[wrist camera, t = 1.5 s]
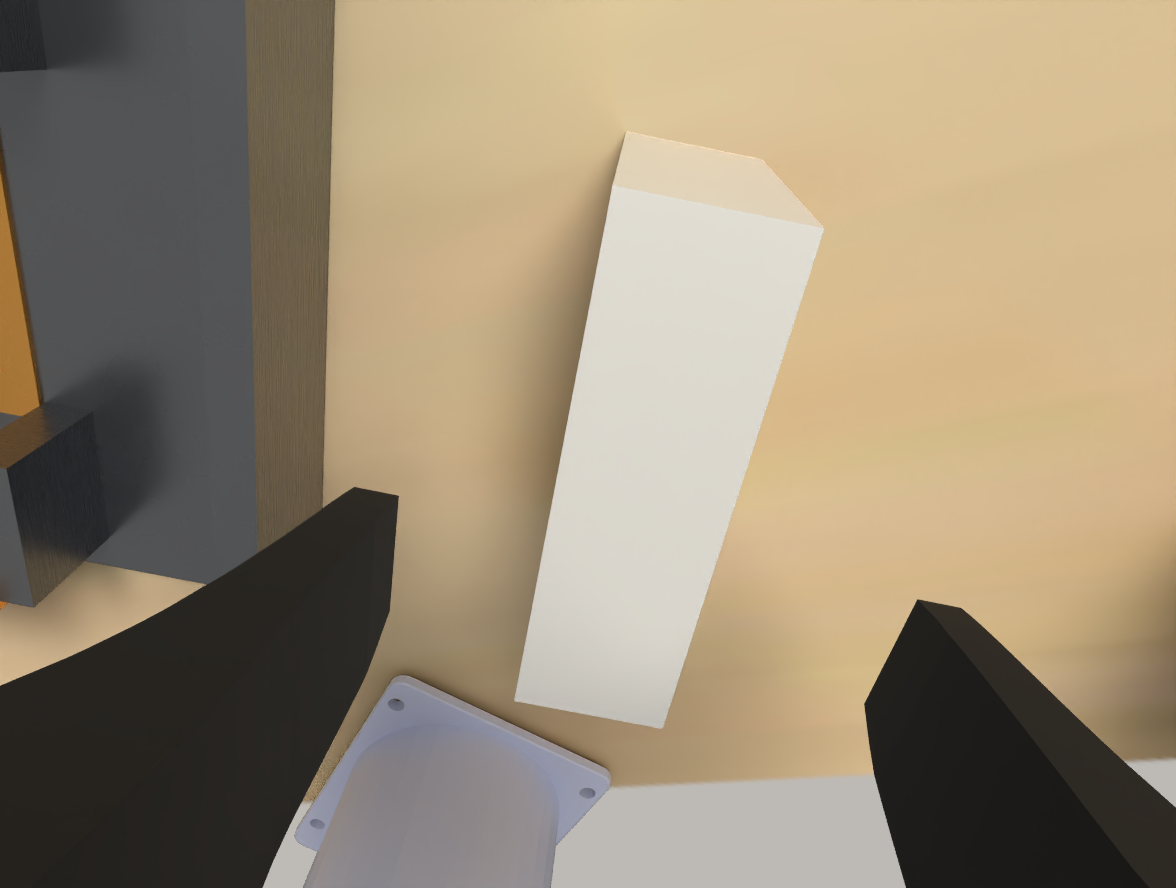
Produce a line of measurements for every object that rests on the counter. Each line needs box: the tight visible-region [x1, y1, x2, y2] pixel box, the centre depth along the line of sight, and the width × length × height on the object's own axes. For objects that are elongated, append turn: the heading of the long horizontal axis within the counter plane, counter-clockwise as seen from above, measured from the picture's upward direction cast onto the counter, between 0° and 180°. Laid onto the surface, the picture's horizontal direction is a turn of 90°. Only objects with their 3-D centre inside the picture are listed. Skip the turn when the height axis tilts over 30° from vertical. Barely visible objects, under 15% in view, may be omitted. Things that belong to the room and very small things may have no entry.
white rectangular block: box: [514, 131, 824, 729], centre depth 16 cm, size 10×3×7 cm, turn 170°
